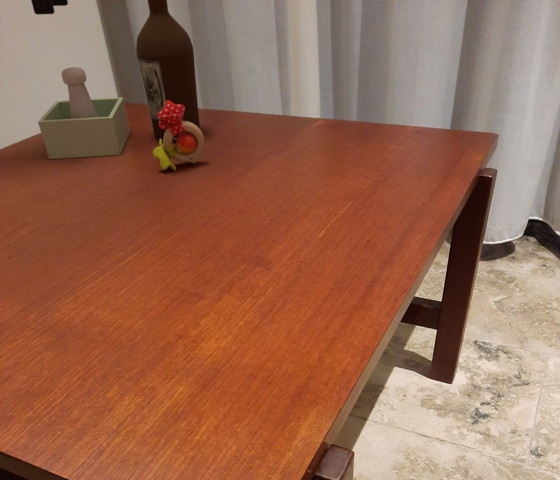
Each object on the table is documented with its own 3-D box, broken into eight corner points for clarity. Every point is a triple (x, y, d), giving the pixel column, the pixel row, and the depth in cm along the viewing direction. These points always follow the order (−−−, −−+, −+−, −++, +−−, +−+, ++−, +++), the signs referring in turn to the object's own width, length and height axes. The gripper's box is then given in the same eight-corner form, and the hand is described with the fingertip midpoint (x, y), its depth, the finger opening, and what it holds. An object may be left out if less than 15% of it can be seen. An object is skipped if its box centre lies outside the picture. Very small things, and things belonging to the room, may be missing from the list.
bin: (49, 159, 106) (37, 121, 101) (65, 135, 116) (55, 101, 112) (120, 155, 106) (112, 117, 102) (130, 132, 117) (123, 97, 112)
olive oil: (183, 123, 120) (163, -18, 103) (213, 134, 114) (197, -14, 97) (141, 135, 114) (113, -10, 98) (171, 147, 108) (146, -6, 92)
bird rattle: (191, 168, 105) (144, 155, 101) (208, 108, 99) (158, 92, 95) (197, 180, 101) (148, 167, 97) (215, 118, 95) (163, 102, 91)
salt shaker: (110, 136, 112) (94, 65, 104) (96, 146, 108) (77, 72, 99) (85, 135, 113) (66, 64, 105) (69, 145, 109) (49, 71, 101)
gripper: (12, -121, 91) (43, 3, 102) (-25, -124, 78) (15, 18, 89) (58, -122, 92) (84, 2, 103) (29, -126, 78) (62, 17, 90)
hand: (52, 9), depth 96 cm, fingers open, 9 cm apart
